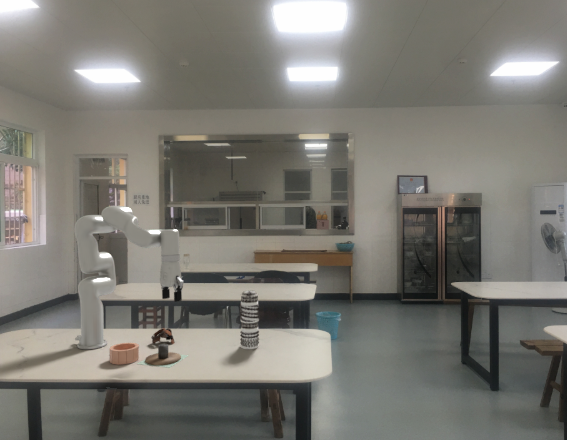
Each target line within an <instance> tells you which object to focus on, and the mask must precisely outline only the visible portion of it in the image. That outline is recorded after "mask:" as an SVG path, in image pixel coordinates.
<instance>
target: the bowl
mask: <svg viewBox="0 0 567 440" xmlns="http://www.w3.org/2000/svg"><path fill="white" fill-rule="evenodd" d="M139 348H140V345H139V343H138V342H137V343H136V342H121V343H117V344H114V345H112V346H110V348H109V363H110V364H112V365H119V366H120V365H121V366H122V365H129V364H132V363H135V362H137V361H139V359H140V349H139Z"/></svg>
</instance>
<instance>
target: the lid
mask: <svg viewBox="0 0 567 440" xmlns="http://www.w3.org/2000/svg"><path fill="white" fill-rule="evenodd" d="M157 346H158V347H157V349H158V350H157V352H156V353H153V354H150V355H148V356H146V357H145V359H144V360H145V361H146V363H147V364H150V365H169V364H173V363H176V362H178V361H179V360H180V359H181V355H182V354H180V353H177V352H173V351H172V352H171V351H169V344H167V343H162V344H159V345H157ZM179 362H180V361H179ZM179 362H178V363H179ZM176 364H177V363H176Z"/></svg>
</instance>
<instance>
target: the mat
mask: <svg viewBox="0 0 567 440" xmlns="http://www.w3.org/2000/svg"><path fill="white" fill-rule="evenodd" d="M180 355H181V359H180V360H179V361H178V362H176V363H173V364H169V365H150V364H147V363H146V361H145V359H143V360H141V361H139V362H137V363H136V365H140V366H141V365H142V366H152V367H160V368H172V367H173V366H175V365H176V364H178V363H179V362H181V361H183V360H184V359H186V358H187V357H189V354H187V355H186V354H180Z"/></svg>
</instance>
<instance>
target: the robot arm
mask: <svg viewBox="0 0 567 440" xmlns="http://www.w3.org/2000/svg"><path fill="white" fill-rule="evenodd" d="M139 225H140V224H139V218H138V217H137V216H135V215H134V212H133V210H132V209H131V208H130V207H128V206H125V205H110V206H107V207H105V208H103V209H102V211H101V214H89V215H84V216H81V217H80V218H78V219H77V220H76V222H75V224H74V235H75V240H76V244H77V253H78V262H79V263H78V264H79V269H80V272H81V273H82V274H86V275H91V274H98V275H93V276H87V277H86V278H83V279H81V280H80V281H79V283H78V285H77V291H78V296H79V302H80V303H79V304H80V334H77V335H76V336H75V338H74V340H75V341H78V343H77V346H76V347H77V349H80V350H93V349H94V350H95V349H101V348H102V347H105V346H107V345H108V340H106V339H104V336H105V335H104V325H105V324H104V305H103V302H102V300H101V298H100V297H102V296H106V295H109V294H112V293H113V292H114V291H115V290H116V287H117V278H116V277H117V276H116V266H115V260H114V257H113V256H112V254H110V253H109V252H107V251H99V243H98V240H97V239H96V237H95V235H94V234H109V233H113V232H115V231H120V232H122V233H123V234H124V236H125V238H126V240H128V241H129V242H131V243H132V244H134V245H136V246H138V247H140V248H142V249H143V248H144V249H147V248H148V249H149V248H159V247H160V254H161V256H160V257H161V259H160V261H161V263H160V270H159V271H160V274H159V275H160V276H159V283H160V286H161V297H162V300H165V299H167V300H168V299H170V298H171V297H170V288H173V290H174V292H173V301H174V302H176V303H178V302H182V300H183V298H182V292H183V287H184V280H183V279H182V270H181V269H182V268H181V263H180V262H181V253H180V252H181V250H180V231H179V230H178V229H163V228H162V229H161V228H159V229H158V228H157V229H156V228H155V229H154V228H153V229H144V228H142V227H140V226H139Z"/></svg>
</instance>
